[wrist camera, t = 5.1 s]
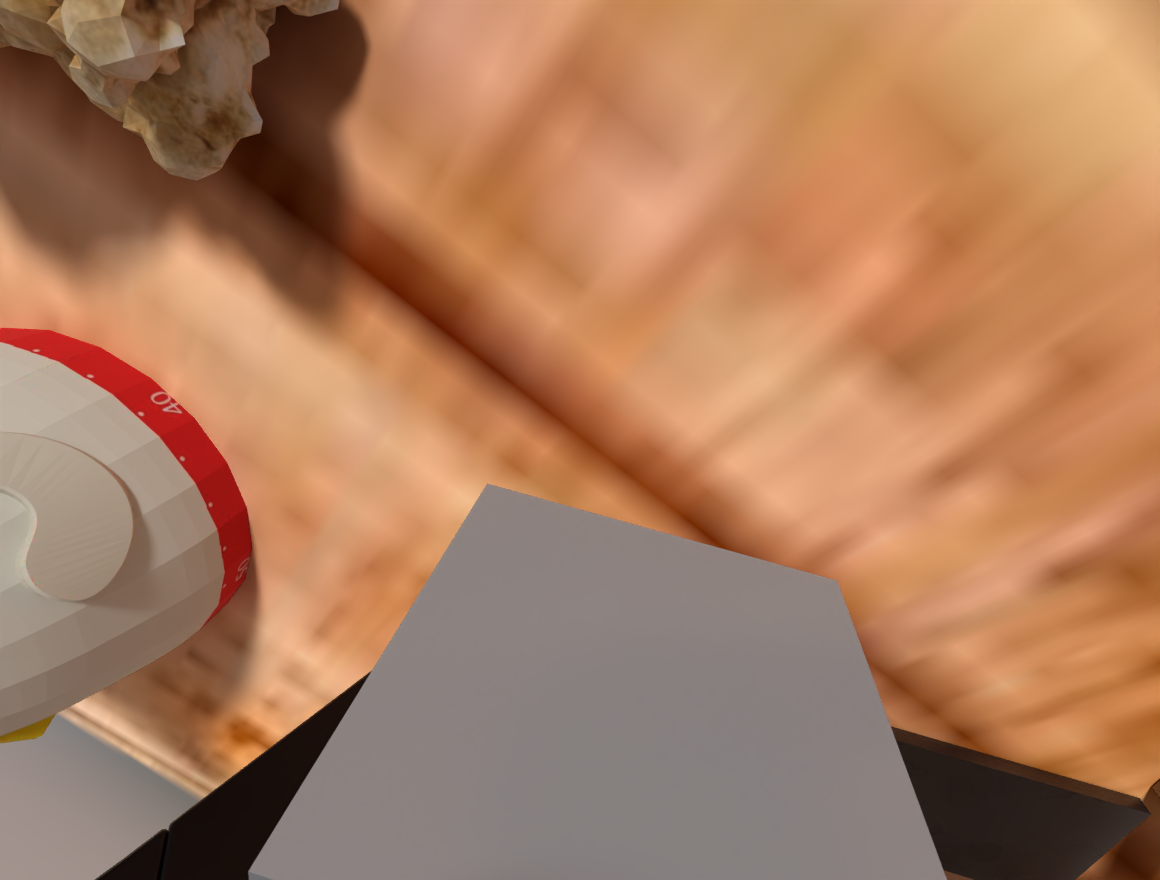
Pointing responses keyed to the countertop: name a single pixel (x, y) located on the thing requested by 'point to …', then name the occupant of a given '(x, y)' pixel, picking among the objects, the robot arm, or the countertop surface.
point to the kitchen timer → (101, 525)
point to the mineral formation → (160, 66)
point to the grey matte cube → (609, 722)
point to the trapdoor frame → (1012, 814)
